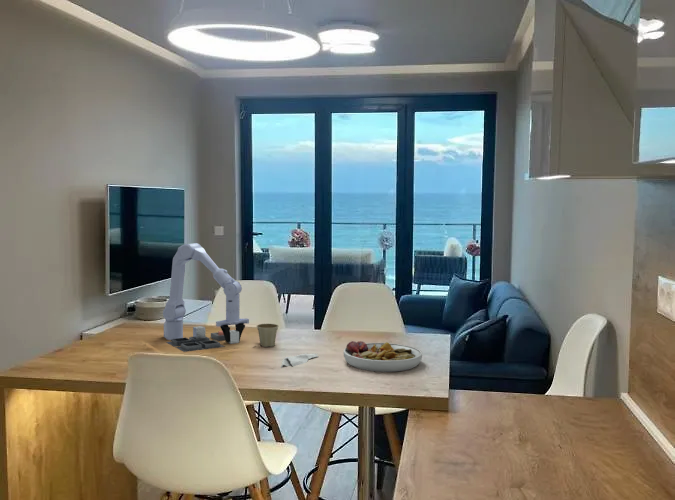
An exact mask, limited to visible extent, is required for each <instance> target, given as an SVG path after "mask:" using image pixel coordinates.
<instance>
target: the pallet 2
mask: <svg viewBox="0 0 675 500" xmlns="http://www.w3.org/2000/svg"><path fill="white" fill-rule="evenodd" d="M225 347H226V346H225V345H224V344H223V345H222V344H221V342H220V341H217V340H215V339H210V340H209V341H201V342H199V343H197V342H192V343H184V344H181V346H177V347H175V349H178V350H179V351H180V352H183V353H187V352H195V351H204V350H211V349H218V348H225Z"/></svg>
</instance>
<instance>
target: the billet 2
mask: <svg viewBox="0 0 675 500" xmlns="http://www.w3.org/2000/svg"><path fill="white" fill-rule="evenodd" d="M228 344H230V345H232V344H233V345H234V344H240V341H239V331H237V330H236V329H230V332H229V343H228Z"/></svg>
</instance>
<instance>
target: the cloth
mask: <svg viewBox="0 0 675 500" xmlns="http://www.w3.org/2000/svg"><path fill="white" fill-rule="evenodd" d="M315 358H319V354H318V353H301V354H298V355H294V356H292V355H291V356H285V357H284V358H283V359H282V362H281V366H280V368H281V369H282V368H283V367H284V366H285V367H290V366H292V367H295V366H300V365H303V364H306V363H307V362H308V360H310V359H315Z"/></svg>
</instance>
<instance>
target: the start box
mask: <svg viewBox="0 0 675 500" xmlns="http://www.w3.org/2000/svg"><path fill="white" fill-rule="evenodd" d="M210 339H211V340H215V341H217V342H222V341H223V342H224V341H225V337H224V335H218V332H210Z"/></svg>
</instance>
